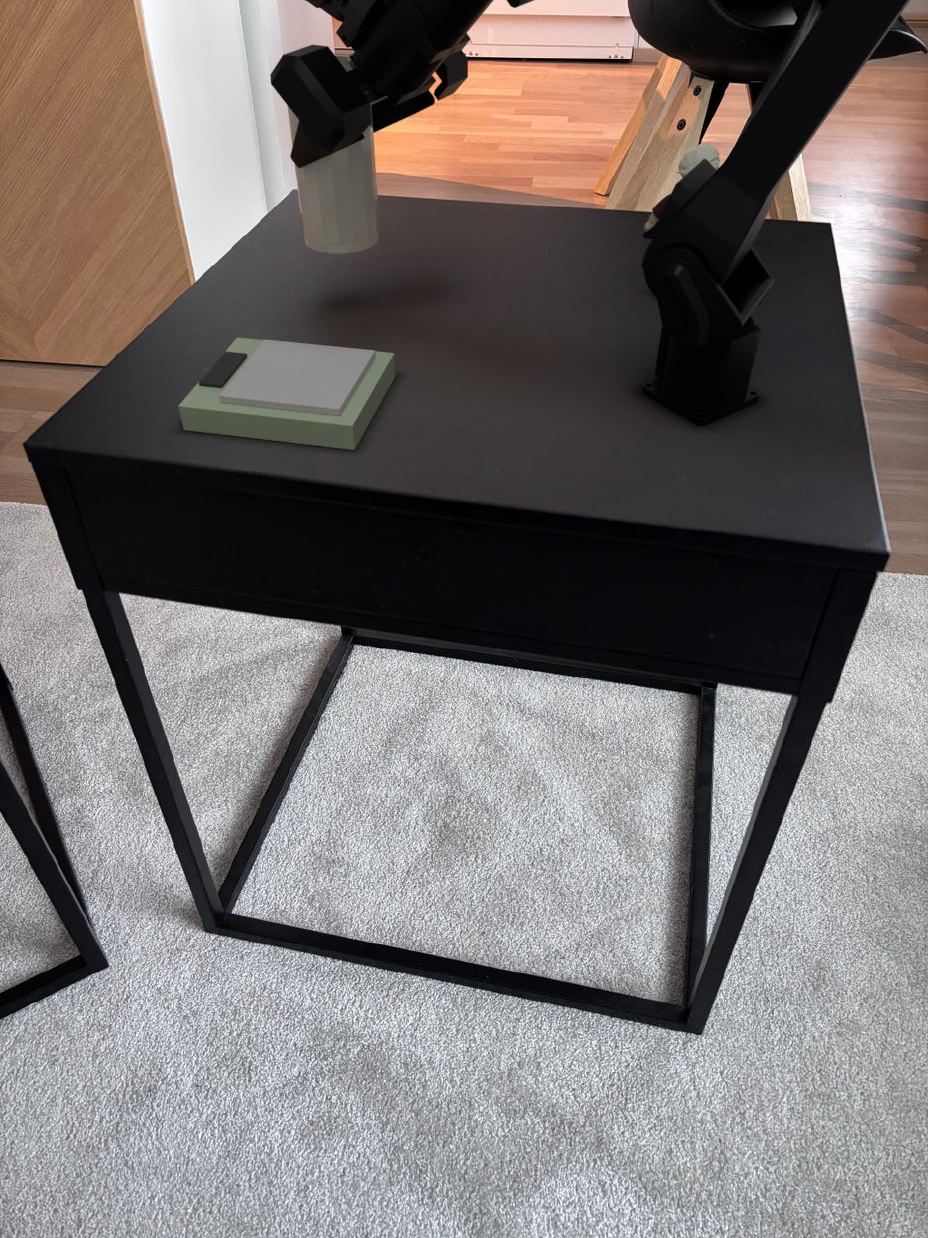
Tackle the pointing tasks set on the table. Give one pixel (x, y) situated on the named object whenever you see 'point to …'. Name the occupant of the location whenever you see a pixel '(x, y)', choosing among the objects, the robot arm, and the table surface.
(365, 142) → the tumbler
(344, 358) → the scale
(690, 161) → the grandmother figurine
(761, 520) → the table surface
